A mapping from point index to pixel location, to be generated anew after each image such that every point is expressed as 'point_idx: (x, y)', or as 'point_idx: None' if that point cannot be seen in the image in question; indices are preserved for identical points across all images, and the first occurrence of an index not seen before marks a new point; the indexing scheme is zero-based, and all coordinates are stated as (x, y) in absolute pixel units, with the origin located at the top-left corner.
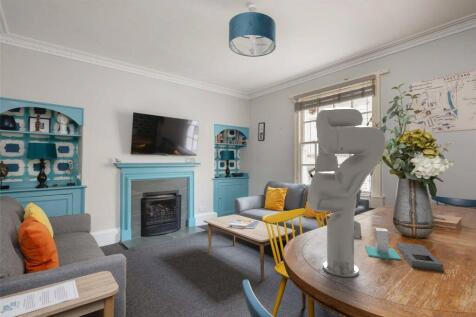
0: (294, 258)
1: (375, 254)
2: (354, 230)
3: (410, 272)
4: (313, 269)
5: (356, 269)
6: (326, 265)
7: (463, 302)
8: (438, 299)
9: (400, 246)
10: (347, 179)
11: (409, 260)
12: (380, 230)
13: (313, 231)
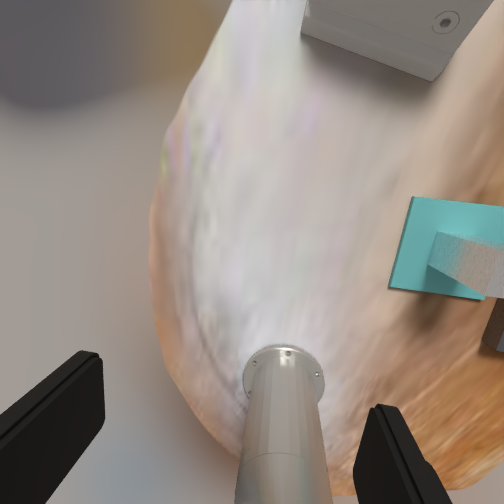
0: (175, 335)
1: (414, 279)
2: (435, 34)
3: (456, 369)
4: (222, 384)
5: (317, 393)
6: (250, 383)
7: (480, 467)
8: (438, 462)
9: None
10: None
11: (497, 329)
12: (501, 295)
13: (229, 18)
